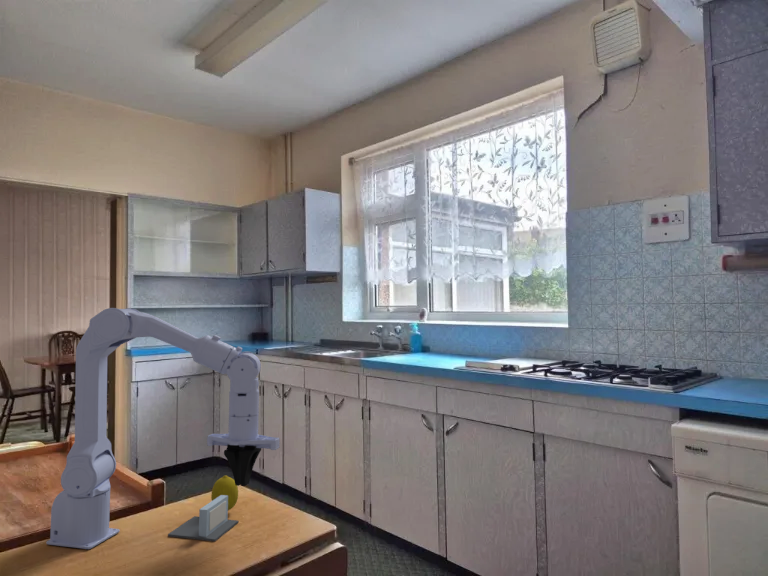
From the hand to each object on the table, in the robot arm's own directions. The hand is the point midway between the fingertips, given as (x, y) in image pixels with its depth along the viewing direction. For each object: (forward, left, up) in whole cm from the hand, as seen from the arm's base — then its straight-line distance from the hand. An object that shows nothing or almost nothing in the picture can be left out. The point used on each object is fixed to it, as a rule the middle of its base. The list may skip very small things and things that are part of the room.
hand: (242, 484), depth 102 cm
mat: (-8, 0, -9) cm, 12 cm away
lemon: (-8, +8, -10) cm, 15 cm away
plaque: (-6, 0, -9) cm, 11 cm away
